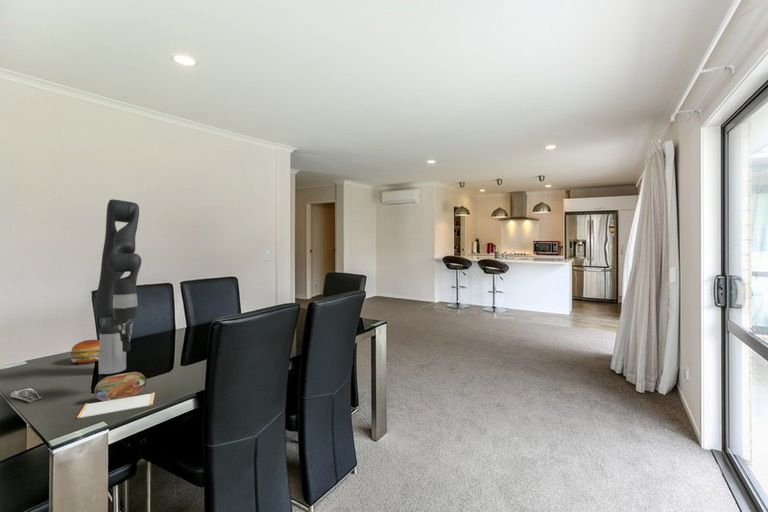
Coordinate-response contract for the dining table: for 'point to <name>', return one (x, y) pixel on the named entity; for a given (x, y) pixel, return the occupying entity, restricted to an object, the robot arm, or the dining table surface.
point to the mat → (116, 405)
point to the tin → (120, 386)
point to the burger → (86, 351)
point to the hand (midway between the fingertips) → (126, 351)
